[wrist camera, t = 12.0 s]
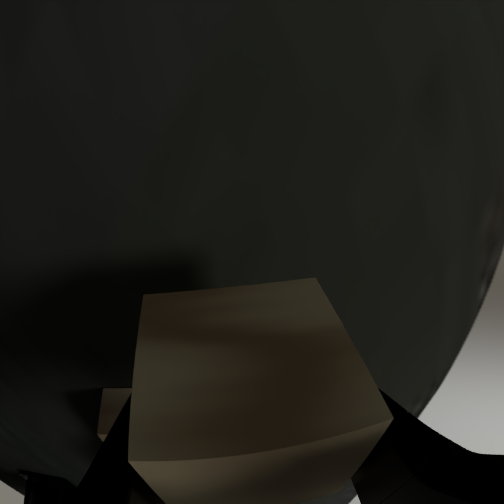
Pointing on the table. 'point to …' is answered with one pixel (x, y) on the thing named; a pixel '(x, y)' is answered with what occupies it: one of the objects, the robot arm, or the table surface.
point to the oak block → (249, 396)
